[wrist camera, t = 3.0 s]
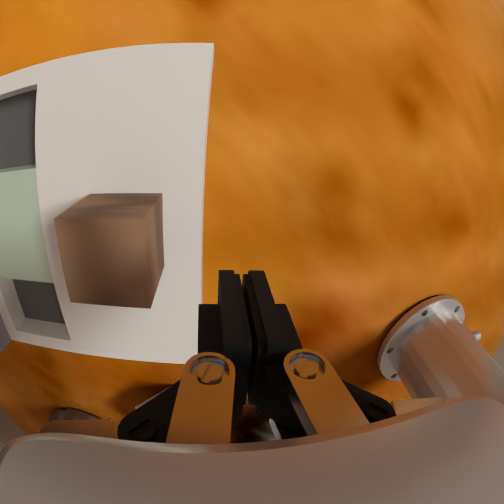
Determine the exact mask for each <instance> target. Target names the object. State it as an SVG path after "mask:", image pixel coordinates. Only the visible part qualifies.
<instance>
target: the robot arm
mask: <svg viewBox="0 0 504 504" xmlns="http://www.w3.org/2000/svg"><path fill="white" fill-rule="evenodd" d="M464 315H465V314H464V309H463V307H462V305H461V303H460V302H459V301H458V300H457V299H455V298H454V297H452V296H448V295H440V296H436V297H432V298H430V299H427V300H425V301H423V302H421V303H420V304H418V305H417V306H415V307H414V308H412V309H411V310H410V311H409V312H407V313H406V314H405V315H404V316H403V317H402V318H401V319H400V320H399V321H398V322H397V323H396V324H395V325H394V326H393V328H392V329H391V330H390V331H389V333H388V334H387V336H386V337H385V339H384V341H383V343H382V345H381V347H380V350H379V353H378V358H377V363H378V368H379V369H380V371H381V373H382V375H383V376H384V377H385V378H387V379H388V380H392V381H402V383H403V384H404V386H405V388H406V389H407V391H408V393H409V395H410V396H411V398H412V399H406V400H392V402H391V403H389V402H387V401H386V400H384V399H382V398H380V397H378V396H376V395H373V394H371V393H369V392H367V391H365V390H362V389H360V388H358V387H356V386H354V385H352V384H350V383H347V382H345V381H343V380H341V379H340V377H339V376H338V374H337V373H336V371H335V370H334V368H333V367H332V365H331V364H330V362H329V361H328V359H327V358H326V357H325V356H324V355H322V354H321V353H319V352H317V351H314V350H311V349H303V348H302V345H301V343H300V340H299V337H298V335H297V332H296V330H295V327H294V324H293V322H292V319H291V316H290V314H289V311H288V309H287V306H286V305H285V304H275V302H274V299H273V296H272V293H271V290H270V287H269V284H268V281H267V278H266V276H265V273H264V271H249V272H248V274H243V281H242V286H241V280H240V275H239V274H234V270H219V280H218V304H199V308H198V354H196V355H194V356H192V357H191V358H190V359H189V360H188V361H187V362H186V364H185V366H184V369H183V373H182V377H181V380H179V381H178V382H176V383H175V384H173V385H172V386H171V387H169V388H168V389H166V390H165V391H163V392H162V393H160V394H159V395H157V396H156V397H154V398H153V399H151V400H150V401H148V402H147V403H145V404H144V405H142V406H141V407H139V408H137V409H136V410H134V411H133V412H131V413H130V414H128V415H127V416H126V417H124V418H123V419H122V420H121V421H112V419H111V418H109V419H89V420H54V421H50V422H48V423H46V424H44V426H43V427H42V428H41V430H40V433H36V434H30V435H25V436H21V437H18V438H15V439H13V440H11V441H10V442H8V443H7V444H6V445H5V446H4V447H3V448H2V450H1V451H0V504H504V372H503V371H502V369H501V368H500V367H499V366H498V364H497V363H496V362H495V361H494V360H493V358H492V357H491V356H490V355H489V354H488V353H487V351H486V350H485V349H484V348H483V347H482V346H481V345H480V343H479V342H478V341H479V340H480V338H481V333H480V332H479V331H474V332H470V330H469V329H468V328H467V327H466V326H465V325H464ZM246 394H248V400H249V404H255V409H256V413H258V412H261V413H262V414H263V415H265V416H267V417H268V418H270V419H269V422H270V426H271V428H272V431H273V433H274V436H275V438H276V440H275V441H265V442H252V443H236V444H230V437H231V424H232V423H233V422H235V421H236V420H237V419H238V418H239V417H240V416H241V415H242V411H243V405H245V402H246Z"/></svg>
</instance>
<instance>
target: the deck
mask: <svg viewBox="0 0 504 504" xmlns="http://www.w3.org/2000/svg"><path fill="white" fill-rule="evenodd" d="M213 61H214V43H166V44H149V45H137V46H128V47H119V48H112V49H105V50H99V51H93V52H87V53H82V54H77V55H72V56H68V57H64V58H59V59H55V60H51V61H48V62H44V63H40V64H37V65H34V66H30V67H27V68H24V69H21V70H18V71H15V72H12V73H9V74H7V75H4V76H1V77H0V351H1V352H4V350H5V348H6V347H7V345H8V344H9V342H10V341H11V340H14V341H19V342H23V343H27V344H32V345H36V346H41V347H46V348H51V349H57V350H62V351H68V352H74V353H80V354H87V355H94V356H101V357H109V358H118V359H127V360H137V361H148V362H162V363H178V364H186V362H187V361H188V360H189V359H190V358H191V357H192V356H194V355H196V354H198V308H199V304H202V248H203V209H204V183H205V163H206V146H207V130H208V116H209V104H210V92H211V81H212V70H213ZM101 193H162V195H163V244H164V269H163V272H162V275H161V278H160V281H159V284H158V287H157V290H156V293H155V297H154V300H153V303H152V306H151V309H147V308H132V307H118V306H105V305H94V304H83V303H73V302H70V298H69V294H68V290H67V286H66V282H65V278H64V273H63V269H62V264H61V259H60V254H59V248H58V242H57V236H56V230H55V223H54V218H56V217H57V216H58V215H60V214H61V213H63V212H64V211H66V210H67V209H68V208H70V207H71V206H73V205H74V204H76V203H77V202H79V201H80V200H82V199H83V198H85V197H86V196H88V195H89V194H101Z"/></svg>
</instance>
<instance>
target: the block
mask: <svg viewBox="0 0 504 504" xmlns="http://www.w3.org/2000/svg"><path fill="white" fill-rule="evenodd" d="M54 223H55V230H56V236H57V242H58V248H59V254H60V259H61V264H62V269H63V273H64V278H65V282H66V286H67V290H68V294H69V298H70V302H73V303H83V304H94V305H105V306H118V307H132V308H147V309H151V306H152V303H153V300H154V297H155V293H156V290H157V287H158V284H159V281H160V278H161V275H162V272H163V269H164V244H163V195H162V193H101V194H89V195H88V196H86V197H85V198H83V199H82V200H80V201H79V202H77V203H76V204H74V205H73V206H71V207H70V208H68V209H67V210H66V211H64V212H63V213H61V214H60V215H58V216H57V217H56V218H54Z"/></svg>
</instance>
